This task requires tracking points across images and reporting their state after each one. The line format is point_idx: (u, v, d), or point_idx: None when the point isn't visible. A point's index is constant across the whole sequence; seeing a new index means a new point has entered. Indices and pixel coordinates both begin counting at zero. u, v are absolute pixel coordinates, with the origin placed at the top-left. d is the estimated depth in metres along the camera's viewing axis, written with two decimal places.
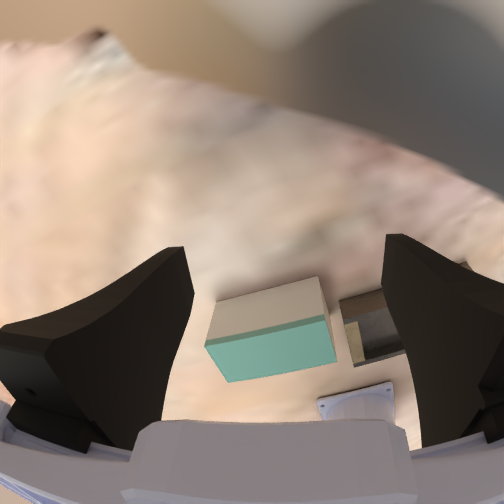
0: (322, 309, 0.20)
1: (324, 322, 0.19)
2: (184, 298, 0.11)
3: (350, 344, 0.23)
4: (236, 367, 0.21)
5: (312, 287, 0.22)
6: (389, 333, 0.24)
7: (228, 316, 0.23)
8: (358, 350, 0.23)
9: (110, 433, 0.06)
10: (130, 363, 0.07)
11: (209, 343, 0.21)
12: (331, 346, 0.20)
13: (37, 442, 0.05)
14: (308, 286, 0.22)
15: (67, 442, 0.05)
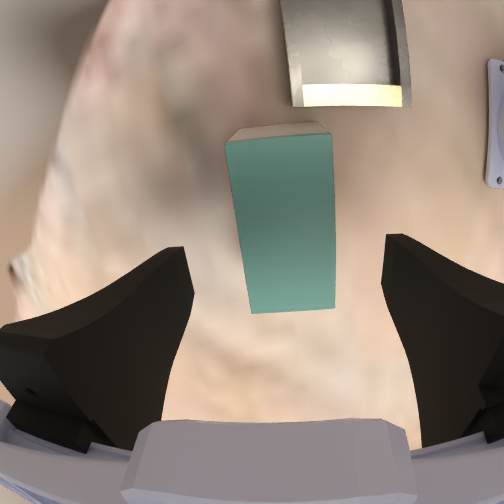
0: (229, 141, 0.13)
1: (229, 145, 0.12)
2: (184, 298, 0.11)
3: (353, 103, 0.13)
4: (302, 288, 0.14)
5: None
6: (363, 37, 0.12)
7: None
8: (372, 92, 0.12)
9: (110, 433, 0.06)
10: (130, 363, 0.07)
11: None
12: (288, 139, 0.11)
13: (37, 442, 0.05)
14: None
15: (67, 442, 0.05)
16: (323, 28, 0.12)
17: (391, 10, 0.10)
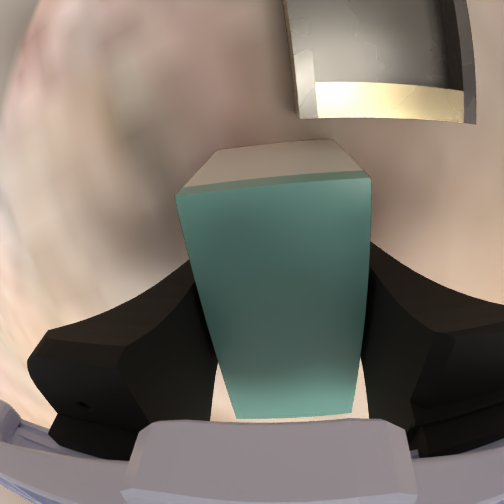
0: None
1: (182, 198, 0.07)
2: None
3: (394, 114, 0.08)
4: (308, 396, 0.09)
5: None
6: (406, 14, 0.07)
7: None
8: (423, 98, 0.07)
9: None
10: (187, 367, 0.07)
11: None
12: (290, 186, 0.06)
13: None
14: None
15: (67, 442, 0.05)
16: None
17: None
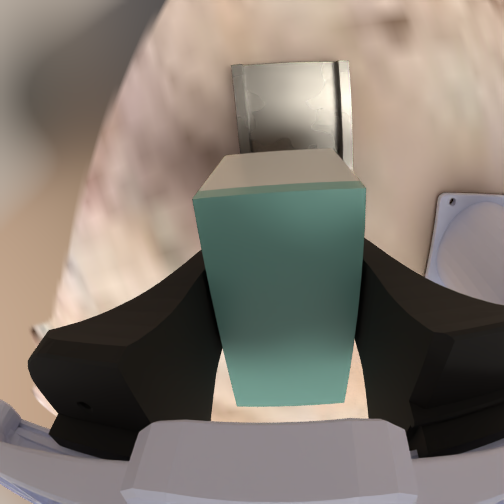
0: None
1: (199, 201, 0.07)
2: None
3: None
4: (304, 385, 0.10)
5: None
6: None
7: None
8: None
9: None
10: (188, 367, 0.07)
11: None
12: (295, 194, 0.07)
13: None
14: None
15: (67, 442, 0.05)
16: None
17: None
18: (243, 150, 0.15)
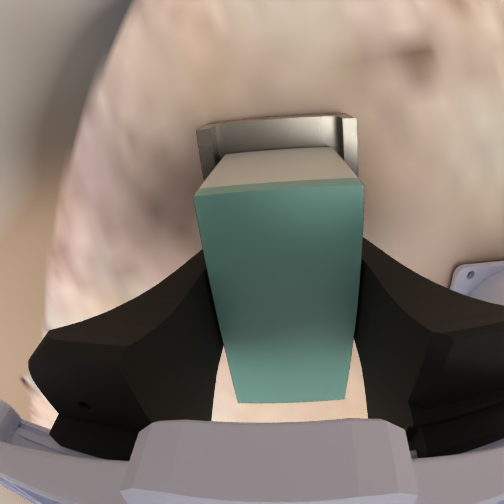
0: None
1: (200, 198, 0.08)
2: None
3: None
4: (305, 381, 0.10)
5: None
6: None
7: None
8: None
9: None
10: (188, 367, 0.07)
11: None
12: (294, 191, 0.07)
13: None
14: None
15: (67, 442, 0.05)
16: None
17: None
18: None
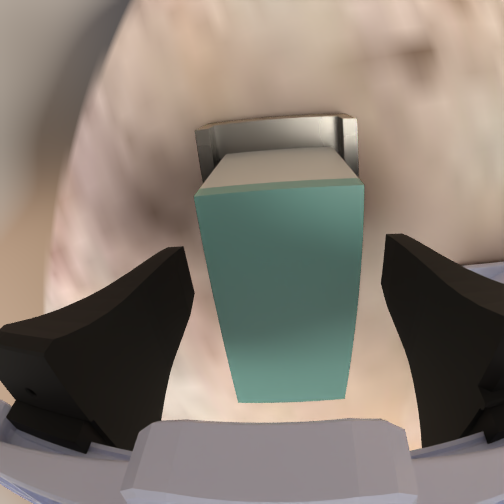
0: None
1: (201, 198, 0.08)
2: (184, 298, 0.11)
3: None
4: (305, 380, 0.10)
5: None
6: None
7: None
8: None
9: (110, 433, 0.06)
10: (130, 363, 0.07)
11: None
12: (295, 191, 0.07)
13: (37, 442, 0.05)
14: None
15: (67, 442, 0.05)
16: None
17: None
18: None
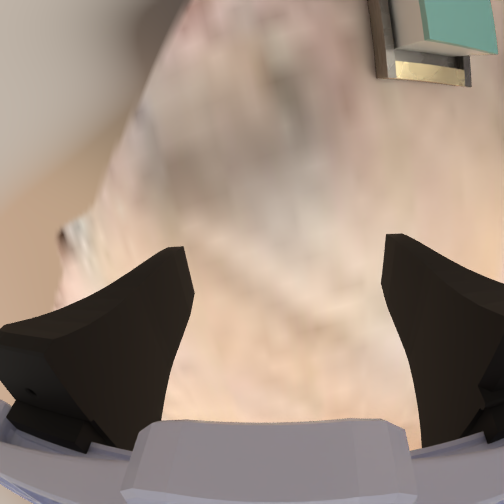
0: None
1: None
2: (184, 298, 0.11)
3: (431, 79, 0.14)
4: (471, 23, 0.09)
5: None
6: None
7: (404, 21, 0.11)
8: (444, 72, 0.13)
9: (110, 433, 0.06)
10: (130, 363, 0.07)
11: (427, 33, 0.10)
12: None
13: (37, 442, 0.05)
14: None
15: (67, 442, 0.05)
16: None
17: None
18: None
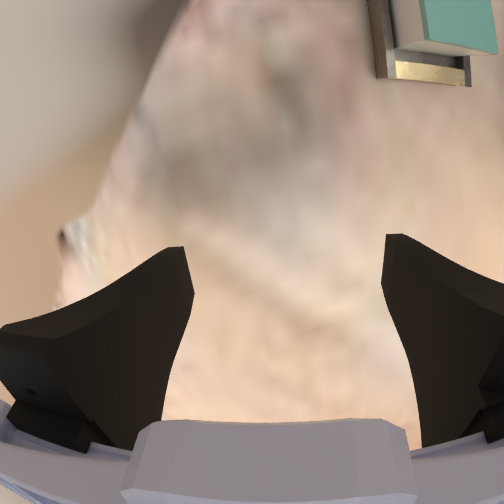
0: None
1: None
2: (184, 298, 0.11)
3: (431, 79, 0.14)
4: (471, 23, 0.09)
5: None
6: None
7: (404, 21, 0.11)
8: (444, 72, 0.13)
9: (110, 433, 0.06)
10: (130, 363, 0.07)
11: (427, 33, 0.10)
12: None
13: (37, 442, 0.05)
14: None
15: (67, 442, 0.05)
16: None
17: None
18: None
